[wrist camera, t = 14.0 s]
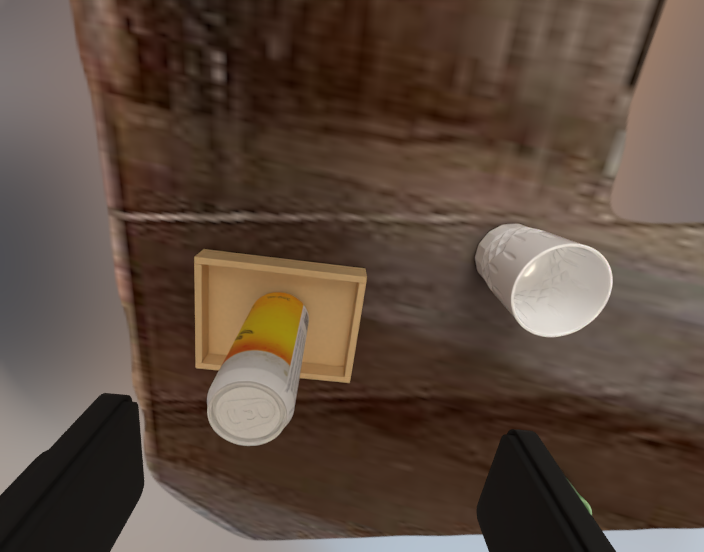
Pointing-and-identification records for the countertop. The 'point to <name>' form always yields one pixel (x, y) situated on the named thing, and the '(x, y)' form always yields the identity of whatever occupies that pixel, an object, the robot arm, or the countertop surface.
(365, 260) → the countertop surface
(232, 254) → the tray
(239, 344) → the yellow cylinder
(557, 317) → the white cup
